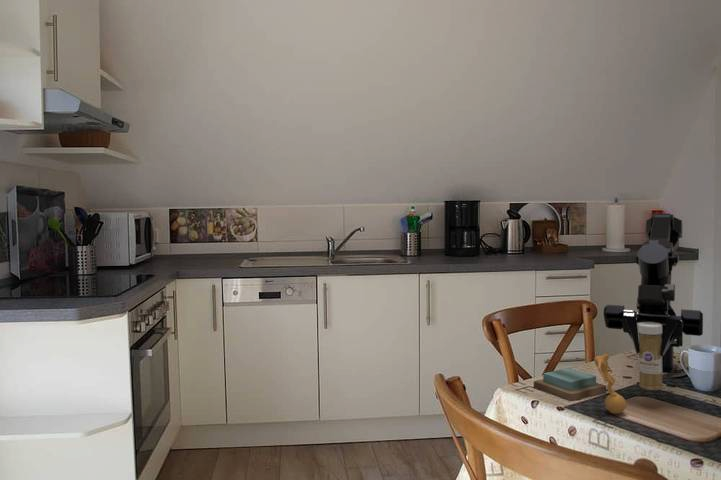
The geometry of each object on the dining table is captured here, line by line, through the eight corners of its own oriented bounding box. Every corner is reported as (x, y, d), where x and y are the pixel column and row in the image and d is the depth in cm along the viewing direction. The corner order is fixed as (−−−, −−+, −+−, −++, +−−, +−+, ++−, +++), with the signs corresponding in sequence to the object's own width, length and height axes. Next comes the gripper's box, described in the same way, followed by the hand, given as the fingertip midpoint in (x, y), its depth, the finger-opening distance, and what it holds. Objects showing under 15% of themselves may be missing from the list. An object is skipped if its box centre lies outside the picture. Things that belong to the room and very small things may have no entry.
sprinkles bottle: (639, 389, 121) (638, 325, 120) (638, 383, 125) (637, 320, 125) (664, 391, 119) (663, 325, 119) (662, 385, 124) (661, 321, 123)
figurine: (623, 421, 114) (624, 360, 113) (590, 416, 117) (591, 357, 116) (628, 408, 121) (628, 351, 121) (597, 404, 124) (597, 348, 124)
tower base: (567, 380, 141) (567, 365, 141) (606, 392, 132) (606, 377, 131) (533, 387, 136) (533, 372, 136) (571, 401, 126) (571, 385, 126)
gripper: (604, 268, 129) (596, 328, 120) (703, 271, 119) (702, 337, 111) (610, 298, 136) (602, 356, 128) (703, 303, 127) (702, 367, 118)
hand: (649, 353), depth 121 cm, fingers closed on sprinkles bottle, 4 cm apart
